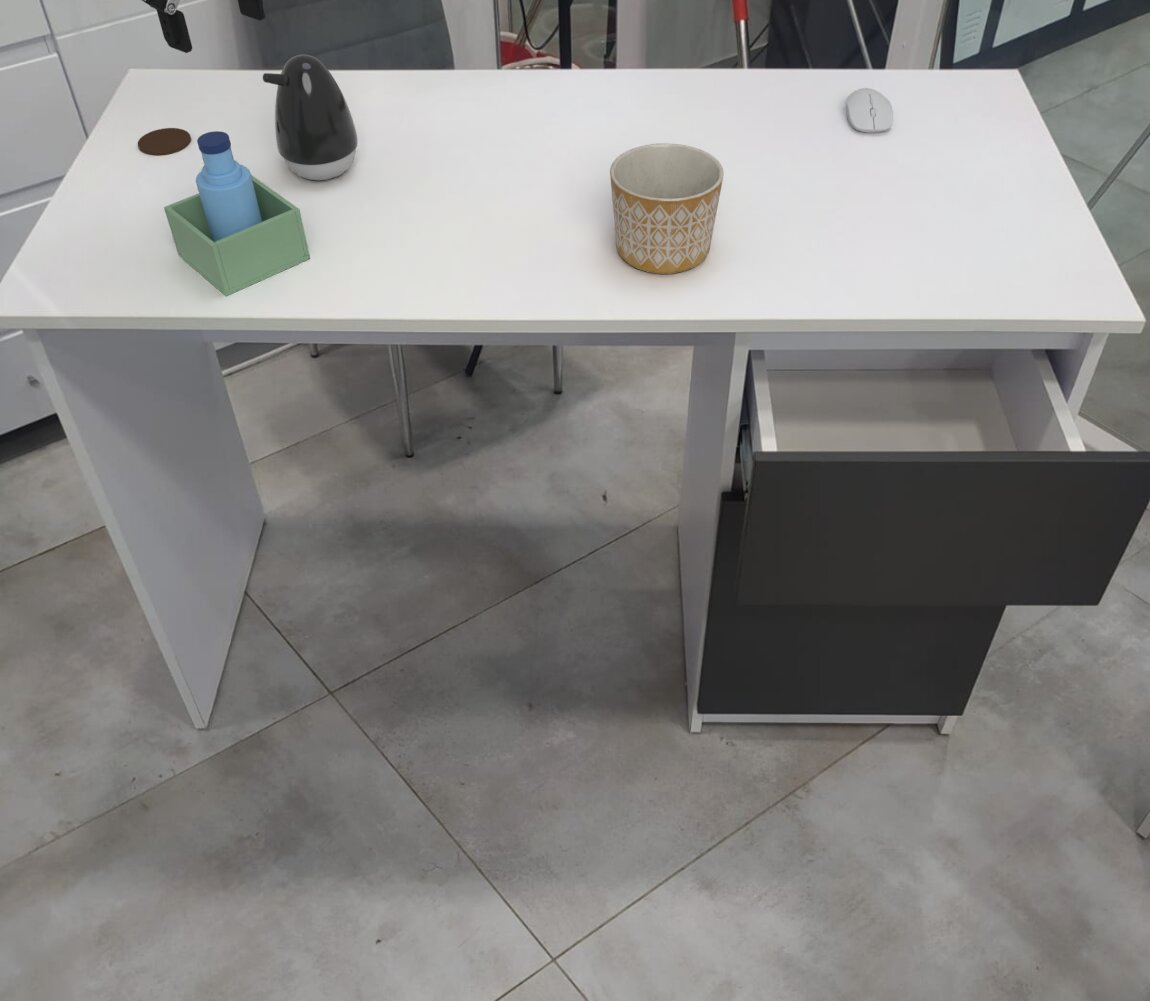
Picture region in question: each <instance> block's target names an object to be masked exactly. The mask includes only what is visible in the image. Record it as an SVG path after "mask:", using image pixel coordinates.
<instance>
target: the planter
mask: <svg viewBox="0 0 1150 1001" xmlns="http://www.w3.org/2000/svg"><path fill="white" fill-rule="evenodd" d="M724 172H725V171H724V168H723V165H722V164H721V163H720V161H719V160H718V159H717V158H716V157H715V156H713V155H712V154H710V153H709V152H707V151H705V150H702V149H700V148H697V147H694V146H691V145H687V144H686V145H685V144H679V143H670V142H669V143H667V142H666V143H665V142H664V143H651V144H644V145H640V146H637V147H633V148H631V149H628V150H626V151H624V152H623V153H621V154H619V155H618V156H617V157H616V158H615V159H614V160H613V162H612V163H611V164H610V168H609V177H610V188H611V201H612V213H613V222H614V234H615V245H616V249H617V252H618V254H619V256H620V257H621V258H622V260H623V261H625V263H626V264H628V265H629V266H631V267H633V268H635V269H637V270H639V271H642V272H646V273H651V274H657V275H658V274H661V275H671V274H678V273H683V272H685V271H686V272H687V271H688V270H691V269H693V268H695V267H697V266H698V265H700V264H701V263H702V262H703V261H704V260H705V259H706V258H707V256H708V255H709V252H710V249H711V244H712V240H713V234H714V229H715V223H716V218H717V213H718V207H719V202H720V196H721V192H722V191H721V190H722V187H723V186H722V185H723V181H724Z"/></svg>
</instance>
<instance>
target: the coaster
mask: <svg viewBox="0 0 1150 1001" xmlns="http://www.w3.org/2000/svg"><path fill="white" fill-rule="evenodd" d="M191 142H192V137H191V134H190V132H188V131H187V130H185V129H182V128H177V127H165V128H159V129H155V130H152V131H150V132H147V133H145V134H143V135H142V136H141V137H140V138H139V139H138V141H137V147H138V149H139V151H140V152H142V153H143V154H146V155H151V156H165V155H171V154H174V153H178V152H180V151H182V150H184V149H186V147H188V146H189V145H190V144H191Z"/></svg>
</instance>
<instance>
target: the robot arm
mask: <svg viewBox="0 0 1150 1001" xmlns="http://www.w3.org/2000/svg"><path fill="white" fill-rule="evenodd" d="M141 1H142V2H143V3H145V4H146V5H148V6H149V7H150V8H151V9H154V10H156V13H157V17H158V20H159V24H160V29H161V32H162V35H163V38H164V40H165V42H166V44H167V45H168V47H170V48H172V49H174V50H177V51H180V52H181V53H185V54H188V53H191V52H192V51H193V45H192V41H191V37H190V33H189V29H188V25H187V21H186V16H185V14H184V12H183V11H181V10H178V6H179V3H180V0H141ZM237 4H238V8H239V12H240V14H241V15H242V16H245V17H248V18H251V19H254V20H257V21H263V20H265V19H266V15H265V10H264V1H263V0H237Z"/></svg>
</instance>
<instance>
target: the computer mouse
mask: <svg viewBox="0 0 1150 1001" xmlns="http://www.w3.org/2000/svg"><path fill="white" fill-rule="evenodd" d="M845 104H846V115H847V121H848V123H849V124H850V126H851V127H852V128H853V129H854V130H856V131H858V132H861V133H867V134H868V133H869V134H877V133H883V132H886V131H888V130H890V129H891V128H892V126H893V122H894V110H893V106H892V103H891V102H890V100H889V99H888V98H887V97H886V96H885V95H883V94H882V93H881V92H879V91H877V90H876V89H873V88H869V87H863V88H862V87H861V88H859V89H856V90H854V91H852V92H851V93H850V94H849V95H848V96H847V97H846V102H845Z"/></svg>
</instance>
